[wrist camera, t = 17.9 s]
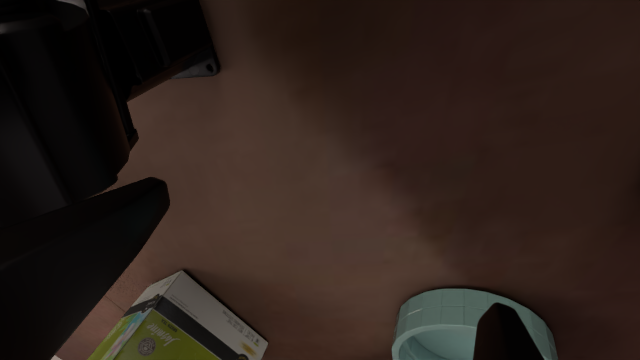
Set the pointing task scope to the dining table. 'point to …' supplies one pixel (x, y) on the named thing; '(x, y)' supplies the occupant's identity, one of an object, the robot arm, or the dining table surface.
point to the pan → (455, 325)
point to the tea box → (179, 327)
